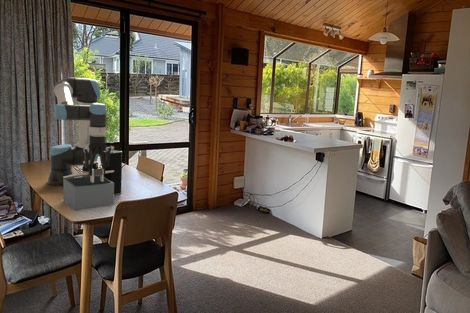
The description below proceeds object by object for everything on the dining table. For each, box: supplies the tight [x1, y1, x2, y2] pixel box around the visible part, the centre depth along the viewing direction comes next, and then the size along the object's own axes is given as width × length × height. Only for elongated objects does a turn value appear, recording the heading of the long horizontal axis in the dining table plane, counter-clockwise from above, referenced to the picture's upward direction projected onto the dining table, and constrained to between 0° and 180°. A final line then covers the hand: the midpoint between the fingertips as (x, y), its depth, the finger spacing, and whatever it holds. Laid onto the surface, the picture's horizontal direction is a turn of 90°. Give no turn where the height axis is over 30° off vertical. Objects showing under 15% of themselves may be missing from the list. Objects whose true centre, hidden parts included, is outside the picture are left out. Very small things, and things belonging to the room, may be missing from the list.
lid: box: [63, 168, 114, 178], centre depth 193 cm, size 24×20×3 cm
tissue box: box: [103, 145, 123, 196], centre depth 214 cm, size 8×8×28 cm
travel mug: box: [81, 161, 98, 177], centre depth 214 cm, size 8×8×18 cm
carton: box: [62, 175, 115, 211], centre depth 196 cm, size 18×20×12 cm
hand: (96, 181), depth 186 cm, fingers closed on lid, 4 cm apart
